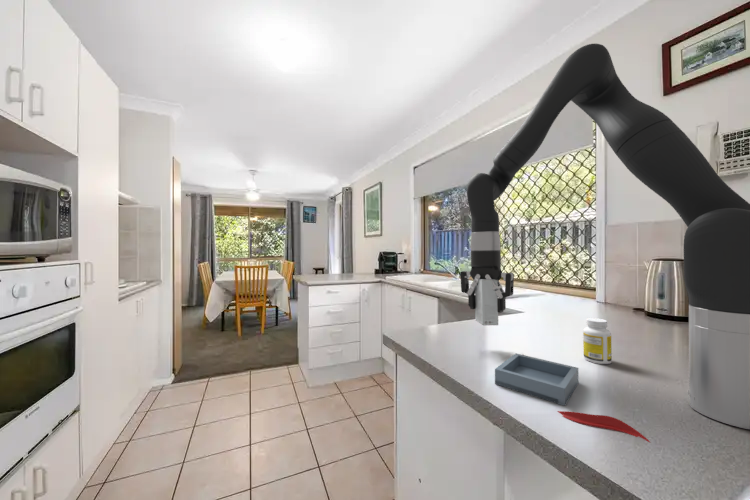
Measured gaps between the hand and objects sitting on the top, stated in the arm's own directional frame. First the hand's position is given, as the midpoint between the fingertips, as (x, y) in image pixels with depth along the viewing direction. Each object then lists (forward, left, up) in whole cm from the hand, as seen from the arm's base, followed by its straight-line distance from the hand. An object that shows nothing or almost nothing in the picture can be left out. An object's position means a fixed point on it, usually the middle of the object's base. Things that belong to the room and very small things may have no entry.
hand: (486, 310), depth 79 cm
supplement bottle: (-23, -10, -11) cm, 27 cm away
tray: (-16, +13, -10) cm, 23 cm away
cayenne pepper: (-27, +21, -11) cm, 36 cm away
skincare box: (0, 0, -4) cm, 4 cm away
